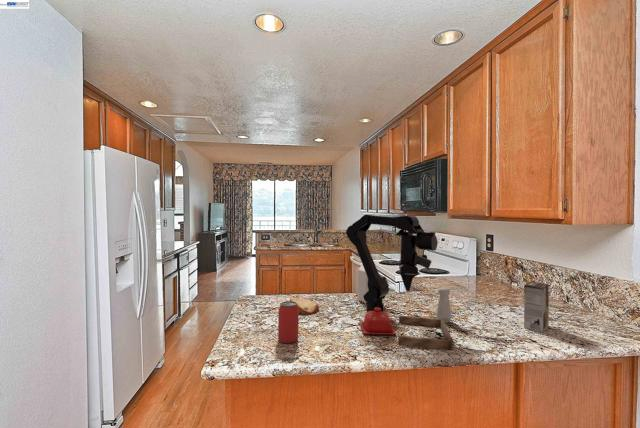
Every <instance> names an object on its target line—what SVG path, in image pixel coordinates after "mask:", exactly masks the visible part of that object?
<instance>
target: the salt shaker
mask: <svg viewBox="0 0 640 428" xmlns="http://www.w3.org/2000/svg"><path fill="white" fill-rule="evenodd" d="M437 293H438V294H439V297H438V302H437V303H438V304H437V306H436V307H437V308H436V312H435V316H436V319H444V322H445V324H448V323H450V321H451V319H452V318H453V315H452V310H451V304H450V296H449V295H451V289H450V288H447V287H439V288H438V289H437Z"/></svg>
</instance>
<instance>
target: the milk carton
mask: <svg viewBox="0 0 640 428" xmlns="http://www.w3.org/2000/svg"><path fill="white" fill-rule="evenodd" d="M377 271H378V272H379V270H378V269H377ZM367 285H368V277H367V274H366V272H365V269H364V267H363V264H362V263H361V266H360V267H359V268H358V269H357V301H359V302H361V301H362V303H363V302H364V303H363V304H366V303H367V301H365V300H364V297H363V296H364V295H365V294H366V293H367V292H368V291H369V290H368V286H367Z"/></svg>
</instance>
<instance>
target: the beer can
mask: <svg viewBox="0 0 640 428" xmlns="http://www.w3.org/2000/svg"><path fill="white" fill-rule="evenodd" d="M299 315H300V313H299V309H298V306H297V303H296V302H293V301H290V300H287V301H286V300H285V301H281V302H280V305H279V308H278V319H277V320H278V321H277V323H278V324H277V325H278V327H277V329H278V331H277V338H278V341H279V342H281V343H283V344H291V343H296V342H297V341H298V340H299V324H300V323H299Z"/></svg>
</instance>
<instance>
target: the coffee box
mask: <svg viewBox="0 0 640 428" xmlns="http://www.w3.org/2000/svg"><path fill="white" fill-rule="evenodd" d="M523 287H524V291H523V292H524V293H523V295H524V297H523V298H524V300H523V302H524V304H523V308H524V309H523V310H524V311H523V328H524V329H528V330H532V331H536V332H540V333H544V332H545V331H546V330H547V329H548V327H549V324H550V323H549V322H550V321H549V317H550V315H549V312H550V311H549V308H550V307H549V305H550V303H549V301H550V300H549V296H550V293H549V291H550V290H549V288H550V287H549V283H542V282H535V281H529V282H527V283H525V284H524V286H523Z"/></svg>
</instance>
